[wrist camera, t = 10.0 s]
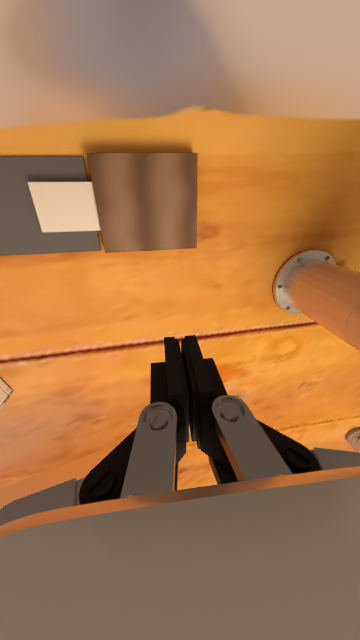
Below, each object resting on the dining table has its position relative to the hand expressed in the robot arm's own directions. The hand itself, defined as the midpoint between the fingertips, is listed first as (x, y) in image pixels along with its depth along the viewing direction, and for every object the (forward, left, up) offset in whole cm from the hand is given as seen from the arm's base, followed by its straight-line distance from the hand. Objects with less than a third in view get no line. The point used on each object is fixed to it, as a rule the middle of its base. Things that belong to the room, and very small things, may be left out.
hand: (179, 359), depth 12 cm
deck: (+1, -7, -28) cm, 29 cm away
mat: (+17, -7, -28) cm, 33 cm away
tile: (+12, -8, -27) cm, 31 cm away
